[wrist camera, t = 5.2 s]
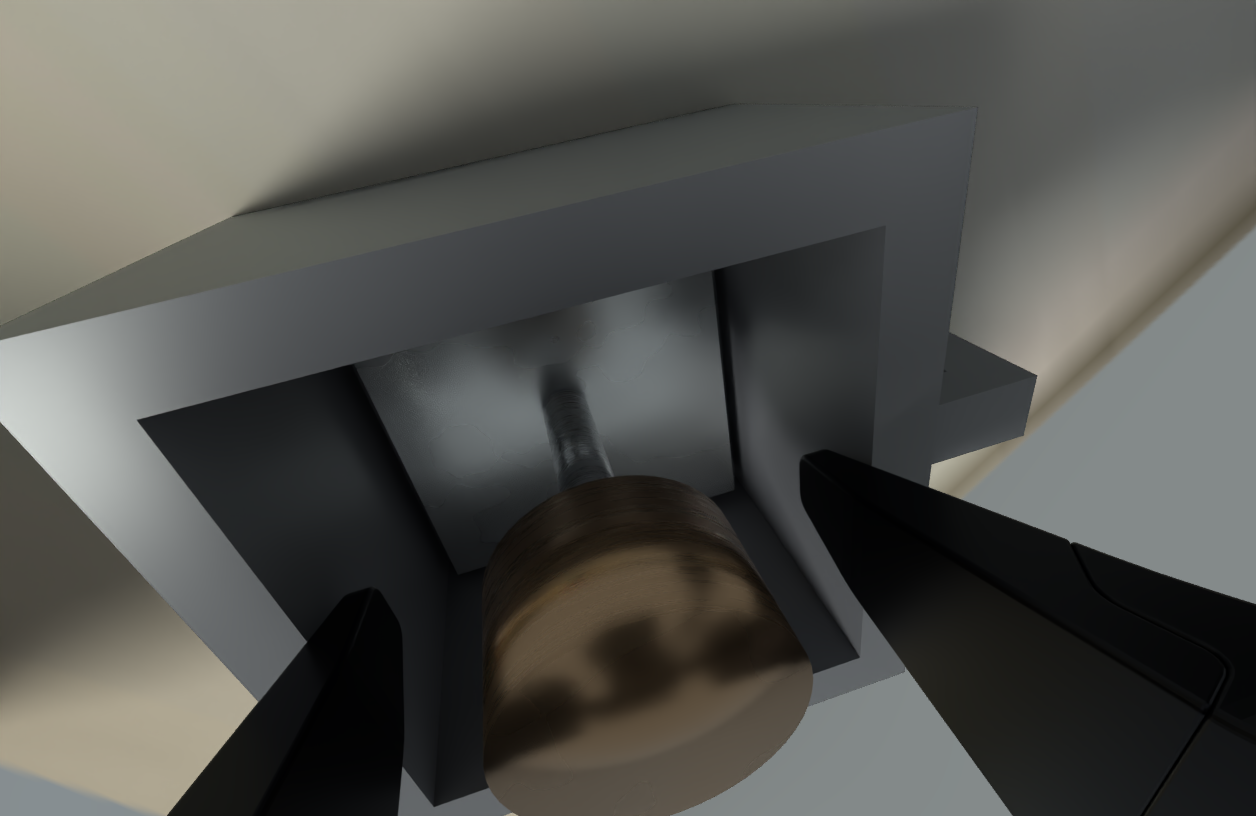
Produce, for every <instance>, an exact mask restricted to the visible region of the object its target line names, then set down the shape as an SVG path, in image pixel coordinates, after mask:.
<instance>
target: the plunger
mask: <svg viewBox="0 0 1256 816" xmlns="http://www.w3.org/2000/svg"><path fill="white" fill-rule="evenodd" d="M354 365H355V367H356V369H357V371H358V373H359V375H360V377H361V379H362V381H363V383H364V385H365V387H366V389H367V391H368V393H369V396H370V398H371V400H372V402H373V404H374V406H375V408H376V410H377V412H378V414H379V416H380V418H381V420H382V422H383V424H384V426H385V428H386V430H387V432H388V434H389V436H390V438H391V440H392V442H393V444H394V446H395V448H396V450H397V452H398V454H399V456H400V458H401V460H402V462H403V465H404V467H405V469H406V471H407V473H408V475H409V477H410V479H411V481H412V483H413V485H414V487H415V489H416V491H417V493H418V495H419V497H420V499H421V501H422V503H423V505H424V507H425V509H426V511H427V513H428V515H429V517H430V519H431V521H432V523H433V525H434V527H435V529H436V531H437V533H438V536H439V538H440V540H441V542H442V544H443V546H444V548H445V550H446V552H447V554H448V556H449V558H450V560H451V562H452V564H453V566H454V568H455V570H456V572H457V574H458V575H459V574H462V573H466V572H469V571H472V570H475V569H479V568H482V567H485V566H487V567H486V569H485V573H484V578H483V583H482V677H483V769H484V774H485V778H486V782H487V784H488V786H489V788H490V790H491V792H492V793H493V795H494V796H495V797H496V798H497V800H498V801H499V802H500V803H501V804H502V805H504V806H505V807H506V808H507V809H508V810H510V811H511V812H513V813H515V814H516V815H518V816H670V815H673V814H676V813H679V812H681V811H684V810H686V809H689V808H691V807H694V806H696V805H698V804H700V803H703V802H705V801H707V800H709V799H711V798H713V797H715V796H717V795H719V794H720V793H722V792H724V791H726V790H728V789H729V788H731V787H733V786H734V785H736V784H737V783H739V782H740V781H742V780H743V779H745V778H746V777H748V776H749V775H750V774H752V773H753V772H754V771H756V770H757V769H758V768H760V767H761V766H762V765H763V764H764V763H765V762H767V761H768V760H769V759H770V758H771V757H772V756H773V755H774V754H775V753H776V752H777V751H778V750H779V749H780V748H781V747H782V746H783V744H785V743H786V741H787V740H788V739H789V738H790V736H791V735H792V734H793V732H794V731H795V730H796V728H797V726H798V725H799V723H800V721H801V720H802V718H803V716H804V714H805V712H806V709H807V707H808V705H809V702H810V698H811V694H812V688H813V672H812V666H811V663H810V660H809V657H808V655H807V653H806V651H805V650H804V648H803V646H802V645H801V643H800V641H799V640H798V638H797V636H796V634H795V633H794V631H793V629H792V628H791V626H790V624H789V623H788V621H787V619H786V618H785V616H784V614H783V613H782V611H781V609H780V608H779V606H778V604H777V602H776V601H775V599H774V597H773V596H772V594H771V592H770V591H769V589H768V587H767V586H766V584H765V582H764V581H763V579H762V577H761V576H760V574H759V572H758V571H757V569H756V567H755V565H754V564H753V562H752V560H751V559H750V557H749V555H748V554H747V552H746V550H745V549H744V547H743V545H742V544H741V542H740V540H739V539H738V537H737V535H736V534H735V532H734V530H733V528H732V527H731V525H730V523H729V522H728V520H727V519H726V517H725V515H724V514H723V512H722V511H721V509H720V508H719V507H718V506H717V505H716V504H715V503H714V502H713V501H712V500H711V499H710V497H713V496H717V495H720V494H723V493H726V492H730V491H733V490H735V488H734V478H733V469H732V459H731V450H730V440H729V431H728V421H727V412H726V402H725V393H724V383H723V374H722V364H721V355H720V345H719V336H718V326H717V317H716V307H715V298H714V288H713V279H712V271H708V272H704V273H700V274H696V275H693V276H689V277H685V278H681V279H677V280H673V281H669V282H666V283H662V284H658V285H654V286H650V287H646V288H643V289H639V290H635V291H631V292H627V293H623V294H619V295H616V296H612V297H608V298H604V299H600V300H596V301H592V302H589V303H585V304H581V305H577V306H573V307H569V308H565V309H562V310H558V311H554V312H550V313H546V314H542V315H539V316H535V317H531V318H527V319H523V320H519V321H515V322H512V323H508V324H504V325H500V326H496V327H492V328H488V329H485V330H481V331H477V332H473V333H469V334H465V335H461V336H458V337H454V338H450V339H446V340H442V341H438V342H434V343H431V344H427V345H423V346H419V347H415V348H411V349H408V350H404V351H400V352H396V353H392V354H388V355H384V356H381V357H377V358H373V359H369V360H365V361H361V362H357V363H354Z"/></svg>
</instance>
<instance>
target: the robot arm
mask: <svg viewBox="0 0 1256 816" xmlns="http://www.w3.org/2000/svg"><path fill="white" fill-rule="evenodd" d="M799 480H800V498H801V502H802V505H803V507H804V509H805V511H806V513H807V515H808V517H809V518H810V520H811V522H812V524H813V525H814V527H815V529H816V531H817V533H818V534H819V536H820V538H821V540H822V541H823V543H824V545H825V547H826V548H827V550H828V552H829V554H830V556H831V557H832V559H833V561H834V563H835V564H836V566H837V568H838V570H839V571H840V573H841V575H842V577H843V578H844V580H845V582H846V583H847V585H848V587H849V588H850V590H851V591H852V593H853V594H854V596H855V597H856V599H857V600H858V602H859V603H860V604H861V606H862V607H863V609H864V610H865V611H866V613H867V614H868V616H869V617H870V618H871V620H872V621H873V622H874V624H875V625H876V627H877V628H878V629H879V631H880V632H881V634H882V635H883V636H884V638H885V639H886V641H887V642H888V643H889V645H890V646H891V647H892V649H893V650H894V652H895V653H896V654H897V656H898V657H899V659H900V660H901V661H902V663H903V664H904V666H905V667H906V668H907V670H908V671H909V672H910V674H911V675H912V677H913V678H914V679H915V681H916V682H917V683H918V685H919V686H920V688H921V689H922V690H923V692H924V693H925V695H926V696H927V697H928V699H929V700H930V701H931V703H932V704H933V705H934V707H935V709H936V710H937V711H938V713H939V714H940V715H941V717H942V718H943V720H944V721H945V722H946V724H947V725H948V726H949V728H950V729H951V731H952V732H953V733H954V735H955V736H956V738H957V739H958V740H959V742H960V743H961V745H962V746H963V747H964V749H965V750H966V752H967V753H968V754H969V756H970V757H971V758H972V760H973V761H974V763H975V764H976V765H977V767H978V768H979V770H980V771H981V772H982V774H983V775H984V776H985V778H986V779H987V781H988V782H989V783H990V785H991V786H992V787H993V789H994V790H995V792H996V793H997V794H998V796H999V797H1000V799H1001V800H1002V801H1003V803H1004V804H1005V806H1006V807H1007V808H1008V810H1009V811H1010V813H1011V814H1012V815H1013V816H1256V604H1254V603H1250V602H1247V601H1244V600H1240V599H1238V598H1234V597H1231V596H1228V595H1225V594H1221V593H1219V592H1215V591H1212V590H1209V589H1206V588H1203V587H1200V586H1197V585H1194V584H1191V583H1188V582H1185V581H1182V580H1179V579H1176V578H1173V577H1170V576H1167V575H1164V574H1160V573H1158V572H1155V571H1152V570H1150V569H1147V568H1144V567H1141V566H1138V565H1135V564H1133V563H1130V562H1127V561H1125V560H1122V559H1119V558H1116V557H1113V556H1111V555H1108V554H1105V553H1103V552H1100V551H1097V550H1095V549H1091V548H1089V547H1087V546H1084V545H1081V544H1078V543H1076V542H1073V543H1071V544H1070V542H1069V541H1068V540H1067V539H1065V538H1062V537H1059V536H1057V535H1054V534H1052V533H1049V532H1046V531H1044V530H1041V529H1038V528H1036V527H1033V526H1030V525H1028V524H1025V523H1022V522H1019V521H1017V520H1014V519H1012V518H1009V517H1006V516H1004V515H1001V514H998V513H996V512H993V511H990V510H988V509H985V508H982V507H979V506H977V505H975V504H972V503H969V502H966V501H964V500H961V499H959V498H956V497H953V496H951V495H948V494H945V493H943V492H940V491H937V490H935V489H932V488H929V487H927V486H924V485H921V484H919V483H916V482H913V481H911V480H908V479H905V478H903V477H900V476H897V475H895V474H892V473H890V472H887V471H884V470H882V469H879V468H876V467H874V466H871V465H868V464H866V463H863V462H860V461H858V460H855V459H852V458H850V457H847V456H844V455H842V454H839V453H836V452H834V451H831V450H828V449H820V450H817V451H814V452H810V453H807V454H804V455H803V456H801V458H800V461H799ZM403 754H404V679H403V638H402V630H401V626H400V623H399V621H398V619H397V617H396V616H395V614H394V612H393V611H392V609H391V607H390V606H389V604H388V603H387V601H386V599H385V598H384V596H383V594H382V593H381V591H380V590H379V589H378V588H376V587H372V586H371V587H367V588H363V589H360V590H357V591H354V592H350V593H348V594H346V595H345V596H344V597H343V598H342V599H341V600H340V601H339V603H338V604H337V605H336V606H335V607H334V609H333V610H332V611H331V612H330V614H329V615H328V616H327V617H326V619H325V620H324V621H323V622H322V624H321V625H320V626H319V627H318V629H317V630H316V631H315V632H314V634H313V635H312V636H311V637H310V639H309V640H308V641H307V642H306V643H305V645H304V646H303V647H302V648H301V650H300V651H299V652H298V653H297V655H296V656H295V657H294V658H293V660H292V661H291V662H290V663H289V665H288V666H287V667H286V668H285V670H284V671H283V672H282V673H281V675H280V676H279V677H278V678H277V679H276V681H275V682H274V683H273V684H272V686H271V687H270V688H269V689H268V691H267V692H266V693H265V694H264V696H263V697H262V698H261V699H260V701H259V702H258V703H257V704H256V706H255V707H254V708H253V709H252V711H251V712H250V713H249V714H248V715H247V717H246V718H245V719H244V720H243V722H242V723H241V724H240V725H239V727H238V728H237V729H236V730H235V732H234V733H233V734H232V735H231V737H230V738H229V739H228V740H227V742H226V743H225V744H224V745H223V747H222V748H221V749H220V750H219V751H218V753H217V754H216V755H215V756H214V758H213V759H212V760H211V761H210V763H209V764H208V765H207V766H206V768H205V769H204V770H203V771H202V773H201V774H200V775H199V776H198V778H197V779H196V780H195V781H194V783H193V784H192V785H191V786H190V787H189V789H188V790H187V791H186V792H185V794H184V795H183V796H182V797H181V799H180V800H179V801H178V802H177V804H176V805H175V806H174V807H173V809H172V810H171V811H170V812H169V814H168V815H167V816H398V811H399V800H400V788H401V777H402V766H403Z"/></svg>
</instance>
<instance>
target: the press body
mask: <svg viewBox="0 0 1256 816" xmlns="http://www.w3.org/2000/svg"><path fill="white" fill-rule="evenodd" d="M977 111H978V107H949V106H874V105H798V104H731V105H726V106H722V107H717V108H713V109H709V110H704V111H700V112H695V113H691V114H686V115H682V116H678V117H673V118H669V119H664V120H660V121H655V122H651V123H647V124H642V125H638V126H633V127H629V128H624V129H620V130H616V131H611V132H607V133H602V134H598V135H593V136H589V137H585V138H580V139H576V140H571V141H567V142H562V143H558V144H554V145H549V146H545V147H540V148H536V149H531V150H527V151H523V152H518V153H514V154H509V155H505V156H500V157H496V158H492V159H487V160H483V161H478V162H474V163H469V164H465V165H461V166H456V167H452V168H447V169H443V170H438V171H434V172H430V173H425V174H421V175H416V176H412V177H408V178H403V179H399V180H394V181H390V182H385V183H381V184H377V185H372V186H368V187H363V188H359V189H354V190H350V191H346V192H341V193H337V194H332V195H328V196H323V197H319V198H315V199H310V200H306V201H301V202H297V203H292V204H288V205H284V206H279V207H275V208H270V209H266V210H261V211H257V212H253V213H248V214H244V215H239V216H235V217H230V218H228V219H226V220H223V221H221V222H219V223H217V224H215V225H213V226H211V227H209V228H207V229H204V230H202V231H200V232H198V233H196V234H194V235H192V236H190V237H187V238H185V239H183V240H181V241H179V242H177V243H175V244H173V245H171V246H168V247H166V248H164V249H162V250H160V251H158V252H156V253H154V254H151V255H149V256H147V257H145V258H143V259H141V260H139V261H137V262H135V263H132V264H130V265H128V266H126V267H124V268H122V269H120V270H118V271H116V272H113V273H111V274H109V275H107V276H105V277H103V278H101V279H99V280H96V281H94V282H92V283H90V284H88V285H86V286H84V287H82V288H80V289H77V290H75V291H73V292H71V293H69V294H67V295H65V296H63V297H60V298H58V299H56V300H54V301H52V302H50V303H48V304H46V305H44V306H41V307H39V308H37V309H35V310H33V311H31V312H29V313H27V314H24V315H22V316H20V317H18V318H16V319H14V320H12V321H10V322H8V323H5V324H3V325H1V326H0V422H1V423H2V424H3V425H4V426H5V427H6V429H7V430H8V431H9V432H10V433H11V434H12V435H13V436H14V437H15V438H16V439H17V440H18V442H19V443H20V444H21V445H22V446H23V447H24V448H25V449H26V450H27V451H28V452H29V453H30V455H31V456H32V457H33V458H34V459H35V460H36V461H37V462H38V463H39V464H40V465H41V466H42V468H43V469H44V470H45V471H46V472H47V473H48V474H49V475H50V476H51V477H52V478H53V479H54V481H55V482H56V483H57V484H58V485H59V486H60V487H61V488H62V489H63V490H64V491H65V492H66V494H67V495H68V496H69V497H70V498H71V499H72V500H73V501H74V502H75V503H76V504H77V505H78V507H79V508H80V509H81V510H82V511H83V512H84V513H85V514H86V515H87V516H88V517H89V519H90V520H91V521H92V522H93V523H94V524H95V525H96V526H97V527H98V528H99V529H100V530H101V532H102V533H103V534H104V535H105V536H106V537H107V538H108V539H109V540H110V541H111V542H112V543H113V545H114V546H115V547H116V548H117V549H118V550H119V551H120V552H121V553H122V554H123V555H124V556H125V558H126V559H127V560H128V561H129V562H130V563H131V564H132V565H133V566H134V567H135V568H136V569H137V571H138V572H139V573H140V574H141V575H142V576H143V577H144V578H145V579H146V580H147V581H148V582H149V584H150V585H151V586H152V587H153V588H154V589H155V590H156V591H157V592H158V593H159V594H160V595H161V597H162V598H163V599H164V600H165V601H166V602H167V603H168V604H169V605H170V606H171V607H172V609H173V610H174V611H175V612H176V613H177V614H178V615H179V616H180V617H181V618H182V619H183V620H184V622H185V623H186V624H187V625H188V626H189V627H190V628H191V629H192V630H193V631H194V632H195V633H196V635H197V636H198V637H199V638H200V639H201V640H202V641H203V642H204V643H205V644H206V645H207V646H208V648H209V649H210V650H211V651H212V652H213V653H214V654H215V655H216V656H217V657H218V658H219V659H220V661H221V662H222V663H223V664H224V665H225V666H226V667H227V668H228V669H229V670H230V671H231V672H232V674H233V675H234V676H235V677H236V678H237V679H238V680H239V681H240V682H241V683H242V684H243V686H244V687H245V688H246V689H247V690H248V691H249V692H250V693H251V694H252V695H253V696H254V697H255V699H256V700H257V701H258V702H259V701H260V699H261V698H262V697H263V696H264V694H265V693H266V692H267V691H268V689H269V688H270V687H271V686H272V684H273V683H274V682H275V681H276V679H277V678H278V677H279V676H280V675H281V673H282V672H283V671H284V670H285V668H286V667H287V666H288V665H289V663H290V662H291V661H292V660H293V658H294V657H295V656H296V655H297V653H298V652H299V651H300V650H301V648H302V647H303V646H304V645H305V643H306V642H307V641H308V640H309V639H310V637H311V636H312V635H313V634H314V632H315V631H316V630H317V629H318V627H319V626H320V625H321V624H322V622H323V621H324V620H325V619H326V617H327V616H328V615H329V614H330V612H331V611H332V610H333V609H334V607H335V606H336V605H337V604H338V603H339V601H340V600H341V599H342V598H343V597H344V596H345V595H346V594H348V593H350V592H354V591H357V590H360V589H363V588H367V587H371V586H372V587H376V588H378V589H379V590H380V591H381V593H382V594H383V596H384V598H385V599H386V601H387V603H388V604H389V606H390V607H391V609H392V611H393V612H394V614H395V616H396V617H397V619H398V621H399V623H400V626H401V630H402V638H403V679H404V754H403V766H402V777H401V788H400V800H399V811H398V816H504V815H506V814H509V813H512V812H511V811H510V810H508V809H507V808H506V807H505V806H504V805H502V804H501V803H500V802H499V801H498V800H497V798H496V797H495V796H494V795H493V793H492V792H491V790H490V788H489V786H488V784H487V782H486V778H485V774H484V769H483V677H482V583H483V578H484V573H485V569H486V567H487V566H485V567H482V568H479V569H475V570H472V571H469V572H466V573H462V574H459V575H458V574H457V572H456V570H455V568H454V566H453V564H452V562H451V560H450V558H449V556H448V554H447V552H446V550H445V548H444V546H443V544H442V542H441V540H440V538H439V536H438V533H437V531H436V529H435V527H434V525H433V523H432V521H431V519H430V517H429V515H428V513H427V511H426V509H425V507H424V505H423V503H422V501H421V499H420V497H419V495H418V493H417V491H416V489H415V487H414V485H413V483H412V481H411V479H410V477H409V475H408V473H407V471H406V469H405V467H404V465H403V462H402V460H401V458H400V456H399V454H398V452H397V450H396V448H395V446H394V444H393V442H392V440H391V438H390V436H389V434H388V432H387V430H386V428H385V426H384V424H383V422H382V420H381V418H380V416H379V414H378V412H377V410H376V408H375V406H374V404H373V402H372V400H371V398H370V396H369V393H368V391H367V389H366V387H365V385H364V383H363V381H362V379H361V377H360V375H359V373H358V371H357V369H356V367H355V365H354V363H357V362H361V361H365V360H369V359H373V358H377V357H381V356H384V355H388V354H392V353H396V352H400V351H404V350H408V349H411V348H415V347H419V346H423V345H427V344H431V343H434V342H438V341H442V340H446V339H450V338H454V337H458V336H461V335H465V334H469V333H473V332H477V331H481V330H485V329H488V328H492V327H496V326H500V325H504V324H508V323H512V322H515V321H519V320H523V319H527V318H531V317H535V316H539V315H542V314H546V313H550V312H554V311H558V310H562V309H565V308H569V307H573V306H577V305H581V304H585V303H589V302H592V301H596V300H600V299H604V298H608V297H612V296H616V295H619V294H623V293H627V292H631V291H635V290H639V289H643V288H646V287H650V286H654V285H658V284H662V283H666V282H669V281H673V280H677V279H681V278H685V277H689V276H693V275H696V274H700V273H704V272H708V271H712V279H713V288H714V298H715V307H716V317H717V326H718V336H719V345H720V355H721V364H722V374H723V383H724V393H725V402H726V412H727V421H728V431H729V440H730V450H731V459H732V469H733V478H734V488H735V490H733V491H730V492H726V493H723V494H720V495H717V496H713V497H710V499H711V500H712V501H713V502H714V503H715V504H716V505H717V506H718V507H719V508H720V509H721V511H722V512H723V514H724V515H725V517H726V519H727V520H728V522H729V523H730V525H731V527H732V528H733V530H734V532H735V534H736V535H737V537H738V539H739V540H740V542H741V544H742V545H743V547H744V549H745V550H746V552H747V554H748V555H749V557H750V559H751V560H752V562H753V564H754V565H755V567H756V569H757V571H758V572H759V574H760V576H761V577H762V579H763V581H764V582H765V584H766V586H767V587H768V589H769V591H770V592H771V594H772V596H773V597H774V599H775V601H776V602H777V604H778V606H779V608H780V609H781V611H782V613H783V614H784V616H785V618H786V619H787V621H788V623H789V624H790V626H791V628H792V629H793V631H794V633H795V634H796V636H797V638H798V640H799V641H800V643H801V645H802V646H803V648H804V650H805V651H806V653H807V655H808V657H809V660H810V663H811V666H812V672H813V688H812V694H811V698H810V702H809V705H808V706H811V705H814V704H817V703H820V702H822V701H825V700H828V699H831V698H834V697H836V696H839V695H842V694H845V693H847V692H850V691H853V690H856V689H859V688H862V687H864V686H867V685H870V684H873V683H876V682H878V681H881V680H884V679H887V678H890V677H892V676H895V675H898V674H900V673H903V672H905V666H904V664H903V663H902V661H901V660H900V659H899V657H898V656H897V654H896V653H895V652H894V650H893V649H892V647H891V646H890V645H889V643H888V642H887V641H886V639H885V638H884V636H883V635H882V634H881V632H880V631H879V629H878V628H877V627H876V625H875V624H874V622H873V621H872V620H871V618H870V617H869V616H868V614H867V613H866V611H865V610H864V609H863V607H862V606H861V604H860V603H859V602H858V600H857V599H856V597H855V596H854V594H853V593H852V591H851V590H850V588H849V587H848V585H847V583H846V582H845V580H844V578H843V577H842V575H841V573H840V571H839V570H838V568H837V566H836V564H835V563H834V561H833V559H832V557H831V556H830V554H829V552H828V550H827V548H826V547H825V545H824V543H823V541H822V540H821V538H820V536H819V534H818V533H817V531H816V529H815V527H814V525H813V524H812V522H811V520H810V518H809V517H808V515H807V513H806V511H805V509H804V507H803V505H802V502H801V498H800V480H799V461H800V458H801V456H803V455H804V454H807V453H810V452H814V451H817V450H820V449H828V450H831V451H834V452H836V453H839V454H842V455H844V456H847V457H850V458H852V459H855V460H858V461H860V462H863V463H866V464H868V465H871V466H874V467H876V468H879V469H882V470H884V471H887V472H890V473H892V474H895V475H897V476H900V477H903V478H905V479H908V480H911V481H913V482H916V483H919V484H921V485H924V486H927V487H929V480H930V472H931V464H934V463H938V462H941V461H944V460H947V459H950V458H954V457H957V456H960V455H963V454H966V453H969V452H973V451H976V450H979V449H982V448H985V447H989V446H992V445H995V444H998V443H1001V442H1004V441H1008V440H1011V439H1014V438H1017V437H1020V436H1023V435H1024V431H1025V427H1026V422H1027V418H1028V414H1029V409H1030V405H1031V401H1032V396H1033V392H1034V388H1035V383H1036V379H1037V375H1035V374H1033V373H1031V372H1029V371H1027V370H1025V369H1023V368H1021V367H1019V366H1017V365H1015V364H1013V363H1011V362H1008V361H1006V360H1004V359H1002V358H1000V357H998V356H996V355H994V354H992V353H990V352H988V351H986V350H984V349H982V348H980V347H978V346H976V345H974V344H972V343H970V342H968V341H966V340H964V339H962V338H960V337H958V336H956V335H954V334H952V333H950V332H949V326H950V318H951V311H952V303H953V295H954V288H955V280H956V272H957V265H958V257H959V249H960V242H961V234H962V226H963V218H964V211H965V203H966V195H967V188H968V180H969V172H970V165H971V157H972V149H973V142H974V134H975V126H976V119H977Z"/></svg>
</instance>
